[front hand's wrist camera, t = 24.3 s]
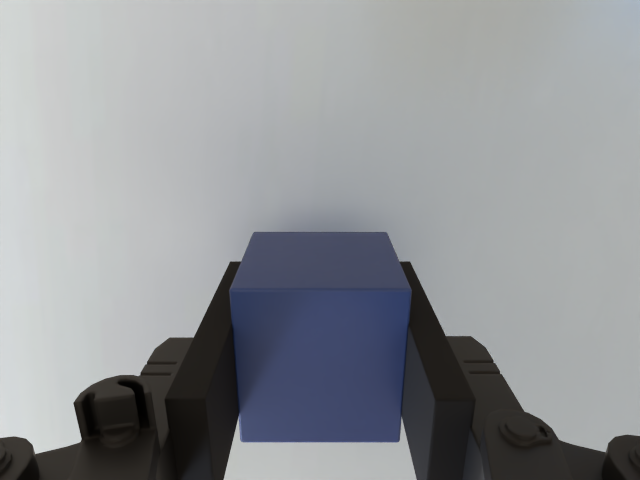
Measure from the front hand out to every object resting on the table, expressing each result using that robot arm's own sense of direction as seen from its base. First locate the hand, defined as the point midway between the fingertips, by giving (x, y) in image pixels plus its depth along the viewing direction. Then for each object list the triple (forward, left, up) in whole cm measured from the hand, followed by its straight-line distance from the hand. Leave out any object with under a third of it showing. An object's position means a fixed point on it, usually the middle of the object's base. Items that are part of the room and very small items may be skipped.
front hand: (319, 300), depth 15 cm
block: (0, 0, 0) cm, 0 cm away
